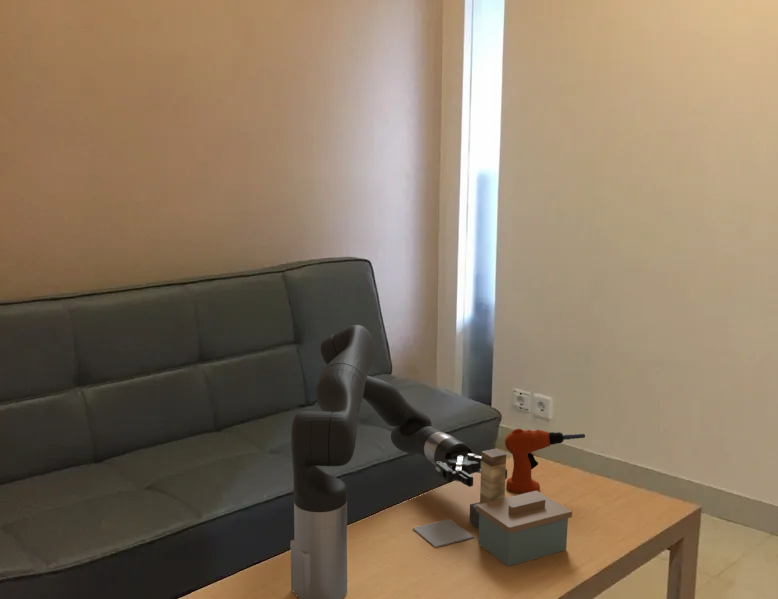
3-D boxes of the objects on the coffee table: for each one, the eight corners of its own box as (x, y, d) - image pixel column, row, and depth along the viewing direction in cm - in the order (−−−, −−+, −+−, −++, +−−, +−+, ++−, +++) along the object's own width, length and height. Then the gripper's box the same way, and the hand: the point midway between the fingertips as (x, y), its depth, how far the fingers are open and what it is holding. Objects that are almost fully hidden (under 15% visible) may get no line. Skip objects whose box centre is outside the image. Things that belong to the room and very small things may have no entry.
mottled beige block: (489, 530, 171) (491, 457, 168) (479, 523, 174) (481, 451, 171) (503, 527, 173) (506, 454, 170) (493, 520, 176) (496, 448, 173)
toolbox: (507, 568, 156) (509, 519, 154) (474, 543, 166) (476, 497, 164) (569, 550, 163) (572, 503, 161) (534, 527, 173) (536, 483, 171)
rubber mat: (435, 547, 164) (435, 546, 164) (412, 529, 171) (412, 527, 171) (473, 537, 168) (473, 536, 168) (449, 520, 176) (449, 518, 176)
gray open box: (487, 535, 169) (488, 516, 168) (469, 522, 175) (469, 504, 174) (513, 528, 172) (514, 510, 171) (495, 515, 178) (495, 498, 177)
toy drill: (590, 489, 188) (585, 427, 185) (507, 496, 190) (501, 434, 187) (587, 481, 193) (582, 419, 190) (506, 487, 195) (500, 426, 192)
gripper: (420, 442, 183) (460, 467, 169) (474, 432, 189) (517, 455, 175) (419, 474, 184) (459, 502, 170) (473, 463, 191) (516, 489, 177)
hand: (489, 478), depth 173 cm, fingers open, 8 cm apart
